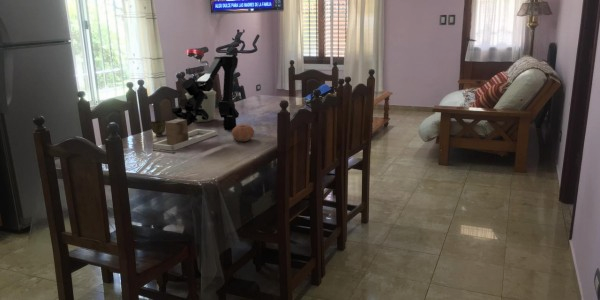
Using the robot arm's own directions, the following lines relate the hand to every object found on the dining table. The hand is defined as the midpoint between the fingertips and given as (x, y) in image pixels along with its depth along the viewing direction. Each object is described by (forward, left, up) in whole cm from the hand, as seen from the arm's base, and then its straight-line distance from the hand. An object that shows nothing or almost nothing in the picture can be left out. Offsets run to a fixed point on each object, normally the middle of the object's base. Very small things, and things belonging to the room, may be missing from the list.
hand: (183, 128), depth 225 cm
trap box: (-1, -1, -8) cm, 8 cm away
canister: (-10, -57, -8) cm, 58 cm away
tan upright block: (+3, +3, -7) cm, 8 cm away
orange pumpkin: (-28, +1, -8) cm, 29 cm away
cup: (+13, -23, -8) cm, 27 cm away
